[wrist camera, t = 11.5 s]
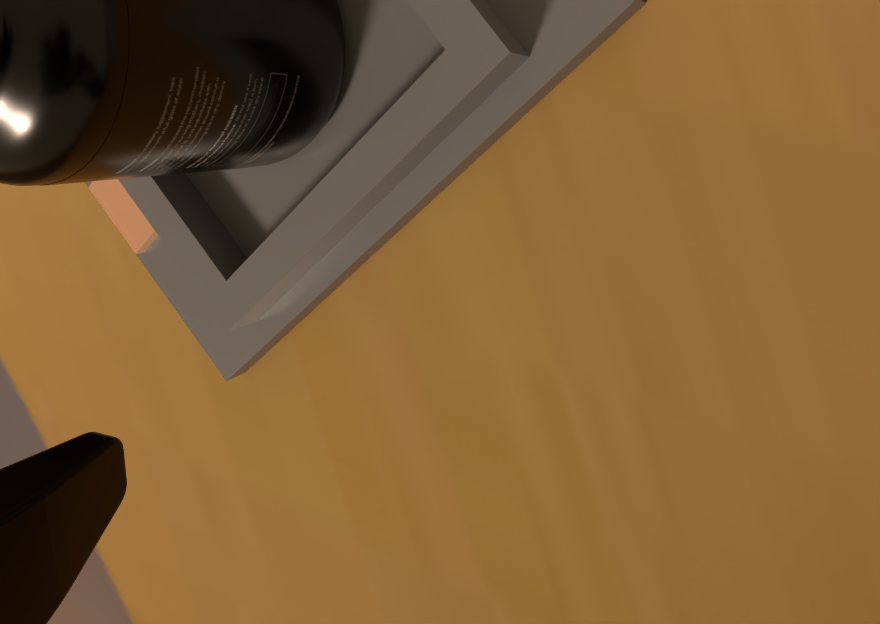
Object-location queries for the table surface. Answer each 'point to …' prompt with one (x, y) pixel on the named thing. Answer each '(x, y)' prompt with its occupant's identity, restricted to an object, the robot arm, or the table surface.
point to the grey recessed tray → (351, 162)
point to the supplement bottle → (162, 85)
